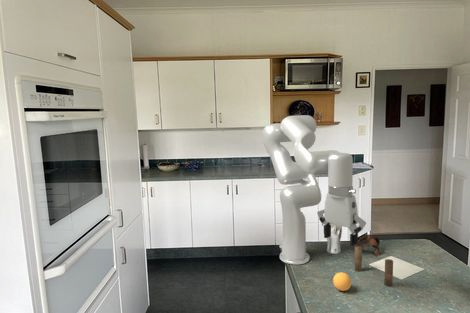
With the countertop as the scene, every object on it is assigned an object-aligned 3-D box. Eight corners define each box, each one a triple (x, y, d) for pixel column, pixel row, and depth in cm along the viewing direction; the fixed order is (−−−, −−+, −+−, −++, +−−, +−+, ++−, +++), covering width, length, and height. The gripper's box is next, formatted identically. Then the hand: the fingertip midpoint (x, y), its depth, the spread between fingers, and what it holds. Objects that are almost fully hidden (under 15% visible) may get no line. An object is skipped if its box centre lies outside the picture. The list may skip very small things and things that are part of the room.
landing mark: (369, 264, 129) (369, 264, 129) (391, 256, 135) (391, 255, 135) (401, 279, 117) (401, 279, 117) (424, 269, 123) (424, 269, 123)
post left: (353, 269, 125) (353, 247, 124) (357, 267, 127) (357, 246, 126) (358, 272, 123) (358, 249, 122) (363, 270, 124) (363, 248, 123)
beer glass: (342, 254, 138) (343, 221, 136) (326, 254, 140) (326, 221, 138) (340, 248, 145) (341, 216, 143) (324, 247, 147) (325, 215, 145)
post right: (382, 284, 114) (383, 260, 113) (387, 282, 115) (388, 258, 114) (389, 287, 112) (390, 263, 111) (394, 285, 113) (394, 261, 112)
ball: (329, 288, 113) (329, 272, 112) (341, 283, 116) (341, 267, 115) (342, 296, 108) (342, 279, 107) (355, 290, 110) (355, 274, 110)
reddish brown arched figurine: (374, 260, 134) (364, 242, 135) (358, 262, 142) (348, 245, 143) (389, 246, 140) (379, 229, 141) (373, 248, 148) (363, 232, 149)
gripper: (371, 192, 100) (370, 245, 102) (324, 185, 113) (324, 231, 116) (359, 197, 95) (358, 251, 98) (311, 188, 109) (311, 237, 111)
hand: (340, 240), depth 107 cm, fingers open, 9 cm apart
